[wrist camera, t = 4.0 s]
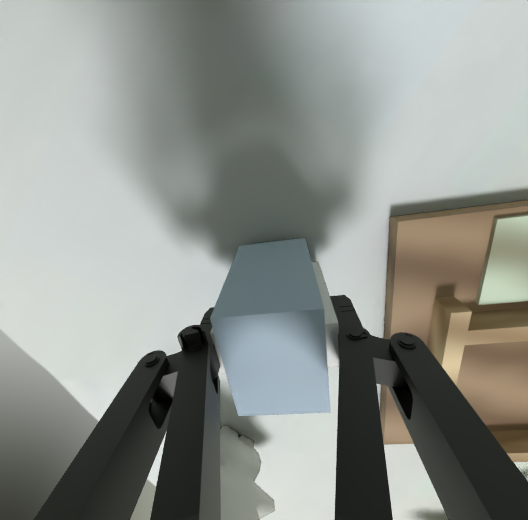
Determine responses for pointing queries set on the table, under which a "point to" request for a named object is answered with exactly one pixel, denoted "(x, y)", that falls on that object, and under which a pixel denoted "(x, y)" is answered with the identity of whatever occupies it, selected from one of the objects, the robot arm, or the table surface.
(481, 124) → the table surface
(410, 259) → the jig
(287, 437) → the table surface
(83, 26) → the table surface
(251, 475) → the bunny figurine
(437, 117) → the table surface
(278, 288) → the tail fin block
